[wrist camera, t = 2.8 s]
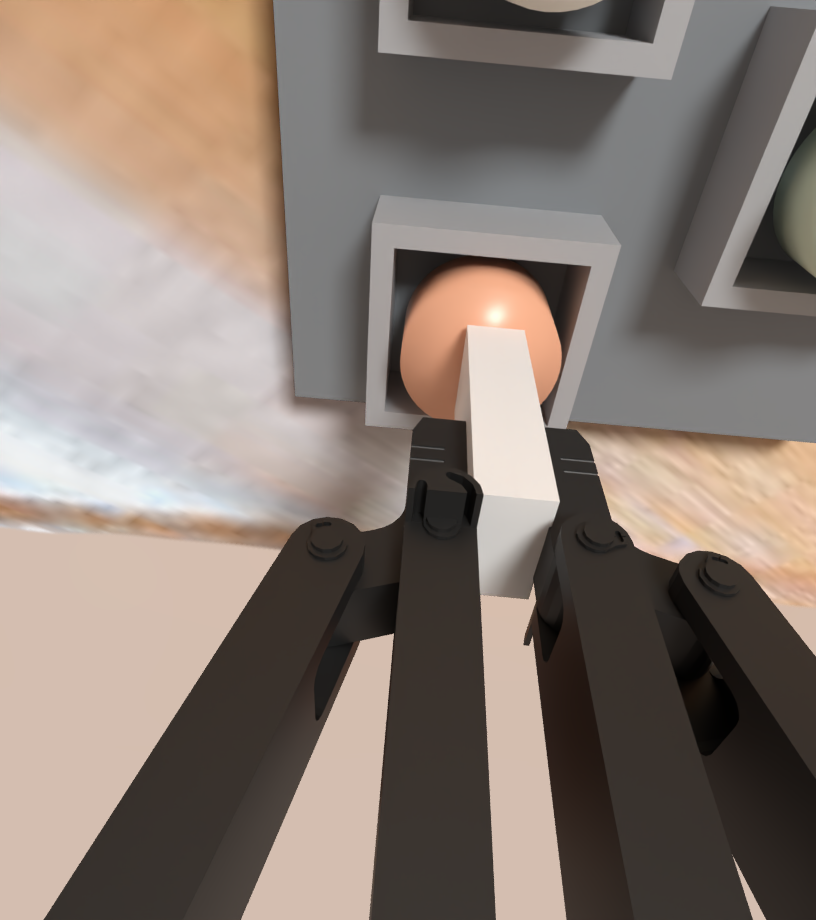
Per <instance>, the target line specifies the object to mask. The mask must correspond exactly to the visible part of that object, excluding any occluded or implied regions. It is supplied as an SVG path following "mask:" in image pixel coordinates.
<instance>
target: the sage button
mask: <svg viewBox="0 0 816 920" xmlns="http://www.w3.org/2000/svg"><path fill="white" fill-rule="evenodd" d="M773 224H774V230H775V234H776V237H777V239H778V242H779V244H780V245H781V247H782V249H783V250H784V251H785V252H786V253H787V255H788V256H789V257H791V258H792V259H793V260H794V261H795V262H797V263H798V264H799V265H800V266H802V267H803V268H804V269H805V270H807V271H808V272H809V273H810V274H811V275H813V276H814V277H815V278H816V128H815V129H814V130H813V131H812V132H811V133H810V134H809V135H808V137H807V138H806V139H805V140H804V141H803V143H802V144H801V145H800V147H799V148H798V149H797V150H796V152H795V154H794V155H793V157H792V158H791V160H790V162H789V163H788V165H787V167H786V169H785V171H784V173H783V175H782V177H781V180H780V183H779V185H778V188H777V192H776V196H775V200H774V208H773Z"/></svg>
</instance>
